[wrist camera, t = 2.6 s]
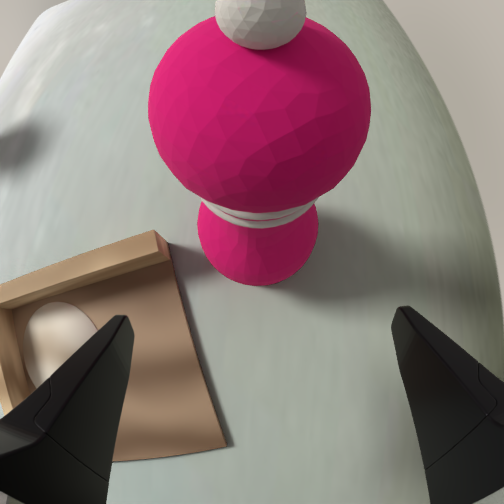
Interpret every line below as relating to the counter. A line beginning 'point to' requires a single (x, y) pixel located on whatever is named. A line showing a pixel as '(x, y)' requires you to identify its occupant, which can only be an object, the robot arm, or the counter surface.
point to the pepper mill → (259, 130)
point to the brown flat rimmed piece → (97, 315)
